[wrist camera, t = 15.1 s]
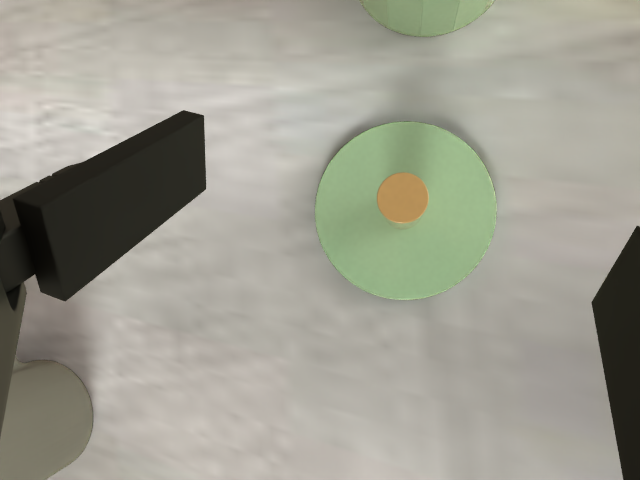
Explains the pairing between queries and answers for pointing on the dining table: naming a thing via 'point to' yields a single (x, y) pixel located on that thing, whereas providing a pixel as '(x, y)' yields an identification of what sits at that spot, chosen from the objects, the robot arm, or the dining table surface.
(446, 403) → the dining table surface
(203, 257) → the dining table surface
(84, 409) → the coffee mug
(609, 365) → the robot arm
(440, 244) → the lid
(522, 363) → the dining table surface
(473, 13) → the canister
